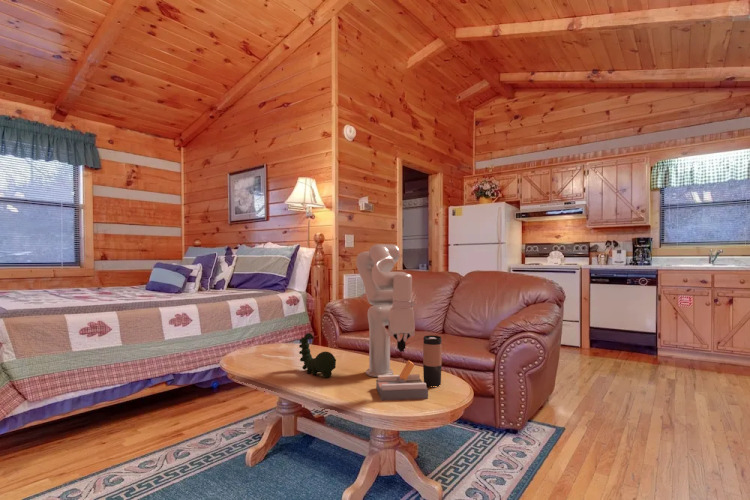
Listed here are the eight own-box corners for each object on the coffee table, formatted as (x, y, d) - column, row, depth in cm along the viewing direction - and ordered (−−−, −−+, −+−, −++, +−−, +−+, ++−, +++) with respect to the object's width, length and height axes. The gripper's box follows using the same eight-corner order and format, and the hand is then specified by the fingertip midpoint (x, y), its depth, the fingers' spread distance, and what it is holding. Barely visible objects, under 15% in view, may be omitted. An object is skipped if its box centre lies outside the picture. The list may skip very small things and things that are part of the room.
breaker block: (376, 388, 164) (376, 375, 164) (419, 386, 166) (419, 373, 166) (381, 400, 150) (381, 386, 150) (428, 398, 152) (428, 384, 152)
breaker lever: (396, 379, 160) (407, 359, 161) (401, 382, 160) (412, 362, 161) (398, 383, 156) (409, 362, 156) (403, 386, 156) (415, 365, 156)
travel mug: (439, 381, 173) (439, 335, 173) (443, 387, 165) (443, 338, 165) (421, 381, 172) (422, 335, 173) (424, 387, 165) (424, 338, 165)
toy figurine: (295, 374, 187) (328, 381, 170) (293, 333, 189) (326, 336, 171) (311, 370, 194) (345, 377, 176) (310, 331, 195) (343, 333, 178)
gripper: (418, 303, 163) (417, 348, 164) (382, 303, 161) (381, 348, 162) (422, 306, 156) (421, 353, 156) (384, 306, 154) (383, 353, 154)
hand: (401, 350), depth 159 cm, fingers closed
